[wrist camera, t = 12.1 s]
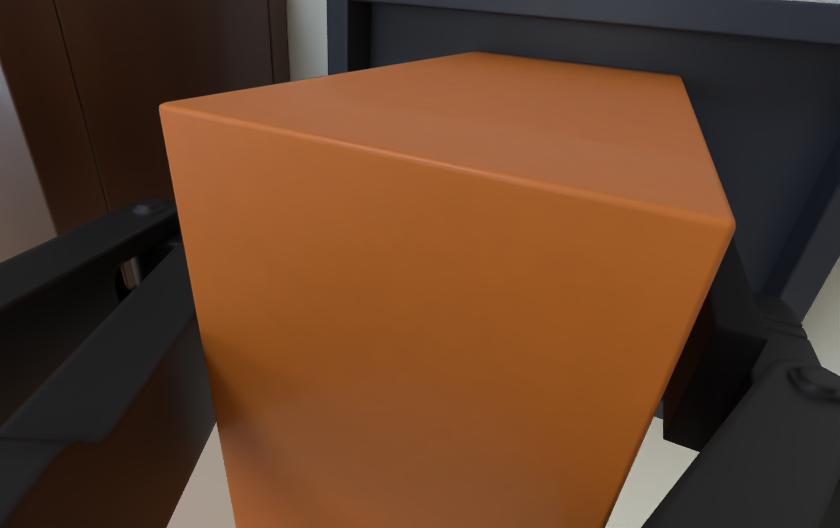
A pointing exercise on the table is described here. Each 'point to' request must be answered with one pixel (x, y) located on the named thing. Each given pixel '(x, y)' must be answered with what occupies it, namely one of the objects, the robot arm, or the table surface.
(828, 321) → the table surface
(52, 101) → the shelf
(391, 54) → the tray
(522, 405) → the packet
